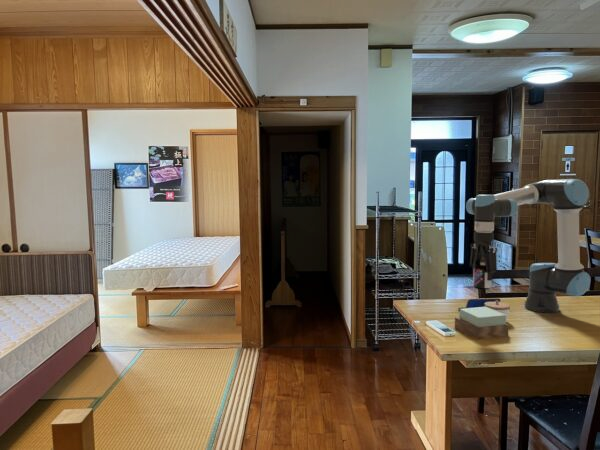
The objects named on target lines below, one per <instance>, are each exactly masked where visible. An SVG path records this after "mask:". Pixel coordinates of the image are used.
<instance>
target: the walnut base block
mask: <svg viewBox="0 0 600 450" xmlns="http://www.w3.org/2000/svg"><path fill="white" fill-rule="evenodd" d="M509 327H510V325H509V324H507V323H506V325H496V326H486V327H477V326H475V325H473V324H471V323H469V322H467V321H465V320H463V319H461V318H459V316H455V317H454V328H455V329H456V330H459V331H461V332H462V333H465V334H466V335H468V336H470V337H472V338H474V339H477V340H480V339H482V340H483V339H489V338H497V337H499V338H500V337H507V336H509Z"/></svg>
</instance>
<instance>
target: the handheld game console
mask: <svg viewBox="0 0 600 450" xmlns="http://www.w3.org/2000/svg"><path fill="white" fill-rule="evenodd" d="M489 301H498V302H502V300H501V298H471V299H468V300H467V302H466V306H464V307H458V308H457V309H458V311H459V312H460V309H464V308H475V307H484V303H485V302H489Z"/></svg>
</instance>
